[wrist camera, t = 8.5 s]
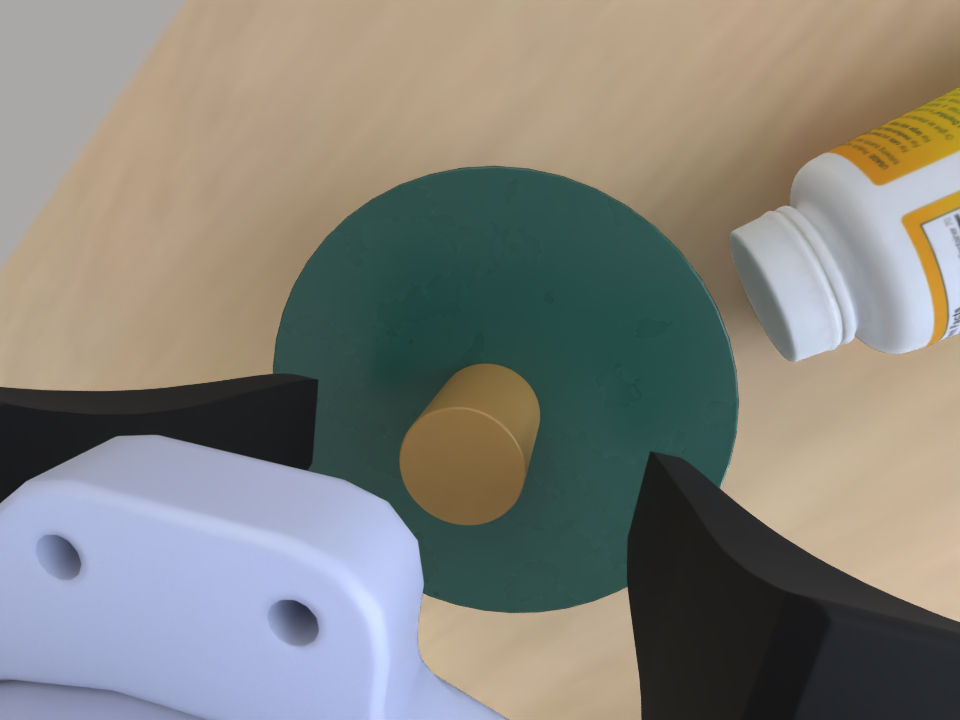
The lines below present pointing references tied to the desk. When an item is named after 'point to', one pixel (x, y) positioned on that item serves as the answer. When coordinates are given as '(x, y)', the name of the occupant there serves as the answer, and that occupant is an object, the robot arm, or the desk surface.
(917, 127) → the supplement bottle
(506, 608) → the lid
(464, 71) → the desk surface
